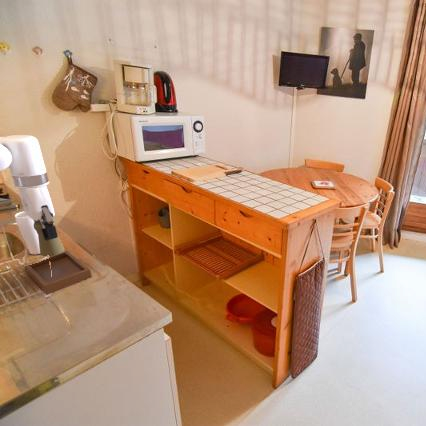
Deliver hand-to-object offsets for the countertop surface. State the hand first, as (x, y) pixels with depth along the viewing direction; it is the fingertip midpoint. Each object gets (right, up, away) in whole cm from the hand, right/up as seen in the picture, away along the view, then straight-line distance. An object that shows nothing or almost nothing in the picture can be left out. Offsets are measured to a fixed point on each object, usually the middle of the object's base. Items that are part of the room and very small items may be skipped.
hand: (47, 235), depth 98 cm
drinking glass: (-18, -7, +17) cm, 25 cm away
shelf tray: (-1, -13, +6) cm, 14 cm away
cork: (0, -6, +2) cm, 6 cm away
